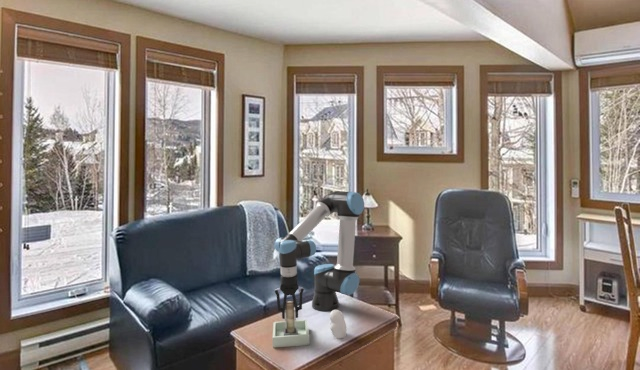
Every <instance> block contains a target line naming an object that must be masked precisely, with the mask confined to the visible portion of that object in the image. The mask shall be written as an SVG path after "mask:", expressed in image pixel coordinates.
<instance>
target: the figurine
mask: <svg viewBox="0 0 640 370" xmlns="http://www.w3.org/2000/svg"><path fill="white" fill-rule="evenodd" d="M329 320H330V331H331V335H332V336H333V338H334V339H335V338H336V339H344V338H346V337H347V336H346V335H347V323H346V320H345V317H344V314H343V313H342V311H341V310H339V309H334V310H331V311H330V313H329Z"/></svg>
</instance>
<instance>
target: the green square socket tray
mask: <svg viewBox="0 0 640 370" xmlns="http://www.w3.org/2000/svg"><path fill="white" fill-rule="evenodd" d="M294 328H295V333H287V326H286V327H285V320H283V321H273V323H272V348H273V349H274V348H283V347H284V348H286V347H299V346H310V332H309V325H308V320H307V319H299V320H297V319H296V326H294Z"/></svg>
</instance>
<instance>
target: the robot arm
mask: <svg viewBox="0 0 640 370" xmlns="http://www.w3.org/2000/svg"><path fill="white" fill-rule="evenodd" d="M364 210H365V200H364V198H363V196H362V195H361V194H360V193H359V192H356V191H341V190H340V191H338V190H336V191H332V192H330V193H328V194H327V195H325V196H323V197H322V198H321V199H319V200H318V201H317V203H316V204H315V207H314V208H313V209H312V210H311V211H310V212H309V213H308V214H307V215H305V217H304V218H303V219H301V221H299V223H297V225H296V226H294V228H292V230H291V231H289V232H288V234H286V235H285V236H284V237H283V236H282V237H279V238H277V239H276V240H275V242H274V248H275V251H276V252H277V253H279V264H280V265H279V267H280V286H279V287H278V288H275V289H274V293H275V296H276V302H277V311H278V312H281V318H282V319H283V320H284V321H285V327H286V326H287V320H286V302H287V299H288V298H287V297H288V296H291V297H292V301H293V302H294V326H296V320H297V318H299V311H301V310H302V309H303V295H304V294H303V293H304V291H305V289H304V287H303V286H300V285H298V260H301V259H306V258H309V257H312V256H314V255H315V254H316V253H317V245H316V243H315V241H313V240H304V239H306V237H307V236H309V234H310V233H311V232H313V230H314V229H315V228H316V227H317V226H318V225H319V224H320V223H321V222H322V221H323V220H324V218H326V217H329V216H330V215H331V214H334V213H336V214H337V218H338V219H339V227H338V228H339V229H338V230H339V231H338V244H337V245H338V246H337V257H336V260H337V261H336V264H334V263H325V264H323V263H322V264H319V265H316V266H315V267H314V269H313V279H314V280H313V281H314V294H313V298H312V300H311V307H312V308H313V309H314V310H316V311H320V312H328V311H330V312H331V311H333V310H338V308H339V306H340V301H339V298H338V296H337V293H339V294H341V295H348V296H350V295H353V294H354V293H355V292H356V291H357V290H358V287H359V284H360V277H359V275H358V274H357V273H356V267H355V266H354V256H355V255H354V254H355V240H356V227H357V226H356V223H357V220H358V219H359V218H360V215H361V214H362V213H363V211H364ZM303 240H304V241H303ZM297 291H298V292H299V294H298V295H299V297H298V299H299V301H298V302H297V299H296V293H297ZM281 292H282V294H283V301H282V306H281V298H280V296H281V295H280V293H281Z"/></svg>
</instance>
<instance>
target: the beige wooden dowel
mask: <svg viewBox="0 0 640 370" xmlns="http://www.w3.org/2000/svg"><path fill="white" fill-rule="evenodd" d="M285 310H286V320H287V333H295V328H294V310H295V306H294V302H293V300H289V301H286V305H285Z"/></svg>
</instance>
